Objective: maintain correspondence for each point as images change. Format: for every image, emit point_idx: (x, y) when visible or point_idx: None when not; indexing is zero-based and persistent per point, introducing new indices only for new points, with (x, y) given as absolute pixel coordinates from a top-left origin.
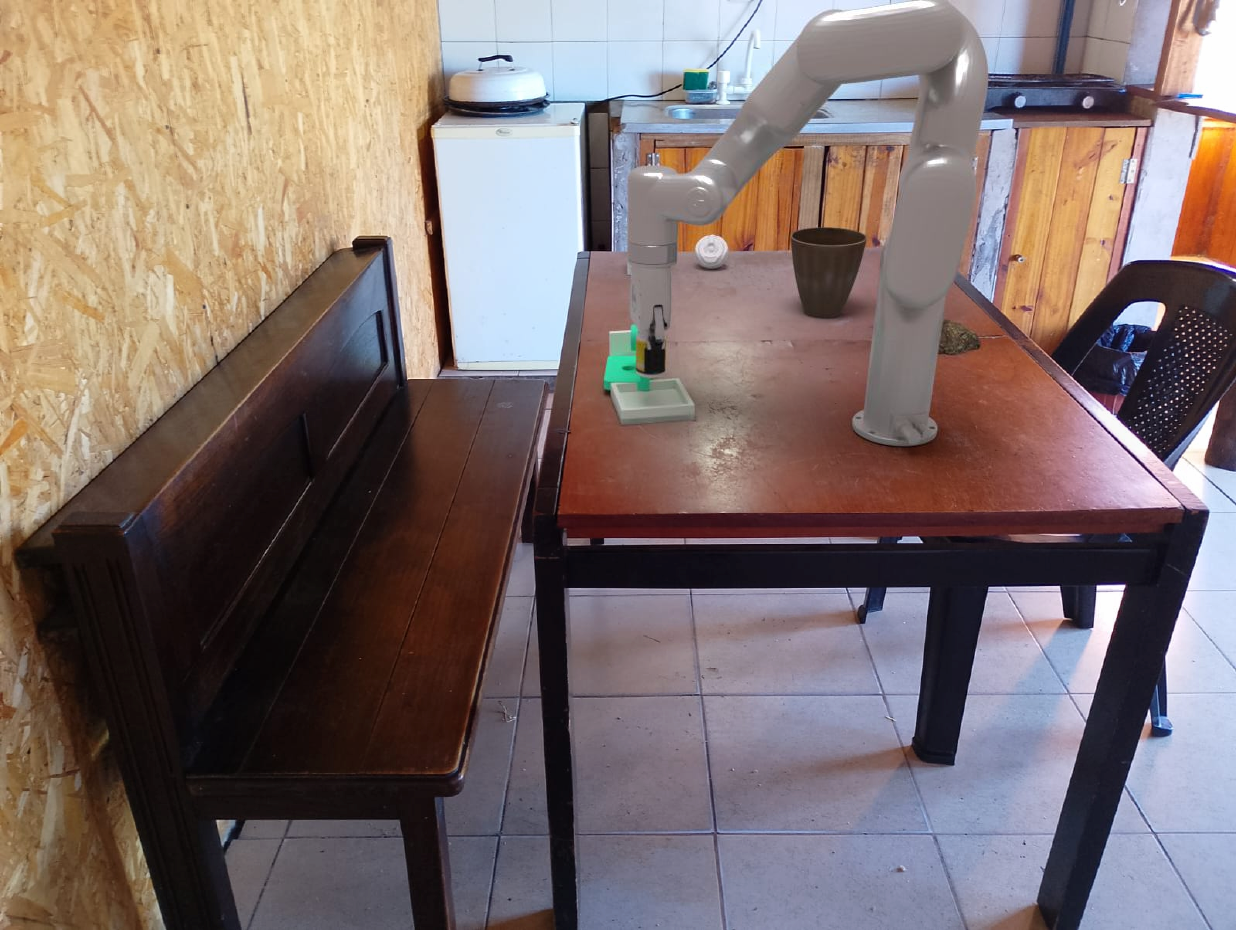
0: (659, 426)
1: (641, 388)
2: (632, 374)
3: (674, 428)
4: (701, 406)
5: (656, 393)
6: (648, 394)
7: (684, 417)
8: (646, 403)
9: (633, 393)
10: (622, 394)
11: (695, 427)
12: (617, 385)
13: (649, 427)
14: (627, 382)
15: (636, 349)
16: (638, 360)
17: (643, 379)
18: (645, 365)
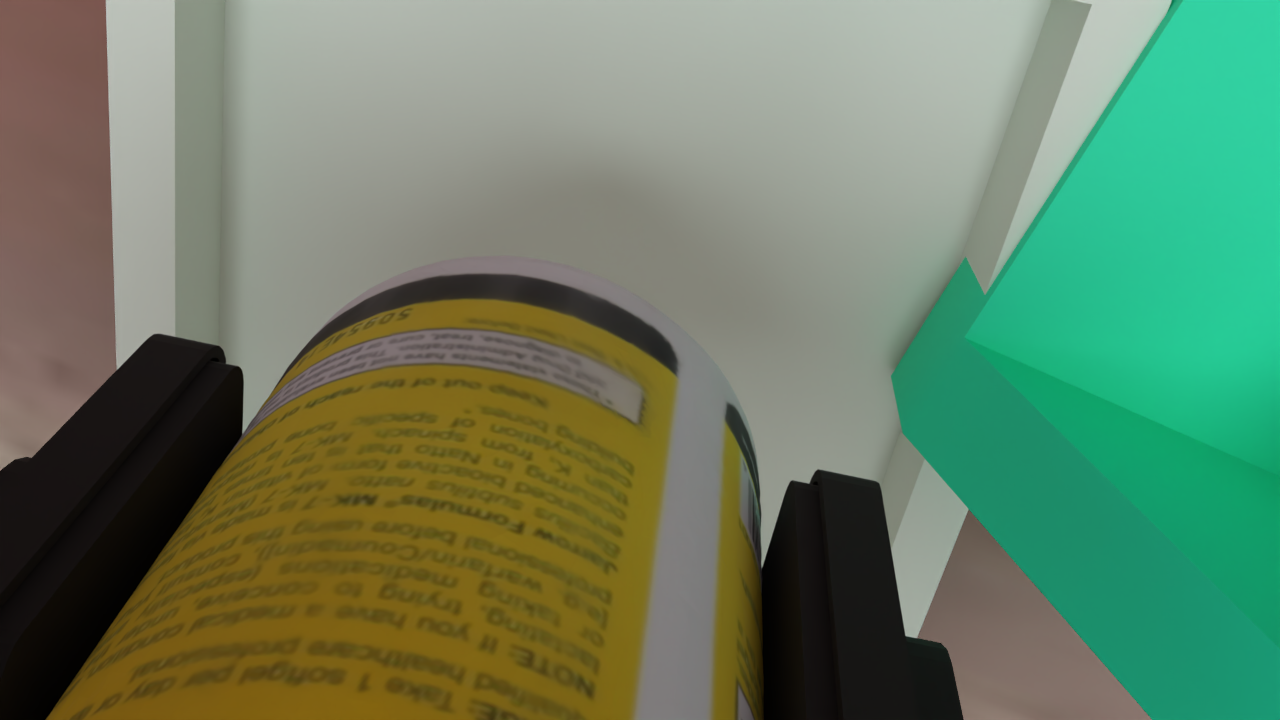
0: (99, 132)
1: (941, 309)
2: (1261, 345)
3: (29, 249)
4: None
5: (799, 413)
6: (808, 327)
7: None
8: (566, 206)
9: (923, 183)
10: (958, 39)
11: (28, 425)
12: (1081, 24)
13: (89, 20)
14: (1059, 184)
15: (437, 524)
16: (372, 392)
17: (962, 391)
18: (93, 411)
